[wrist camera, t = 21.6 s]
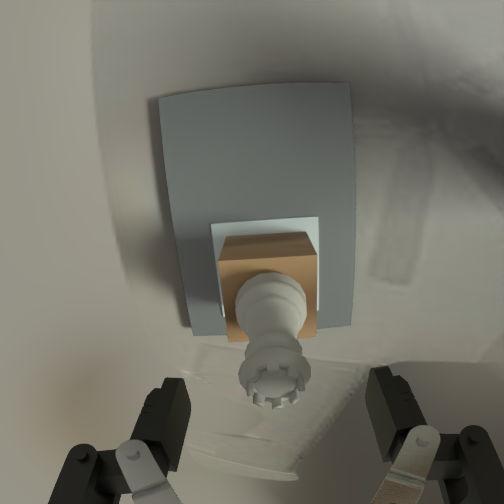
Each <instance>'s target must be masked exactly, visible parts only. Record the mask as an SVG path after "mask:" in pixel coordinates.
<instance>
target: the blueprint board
mask: <svg viewBox="0 0 504 504" xmlns="http://www.w3.org/2000/svg"><path fill="white" fill-rule="evenodd" d="M158 103H159V114H160V125H161V135H162V145H163V154H164V163H165V171H166V179H167V187H168V194H169V202H170V209H171V216H172V222H173V229H174V235H175V241H176V247H177V253H178V259H179V265H180V271H181V276H182V282H183V287H184V292H185V298H186V303H187V308H188V313H189V318H190V322H191V327H192V332H193V336H208V335H227V328H226V320H225V313H224V305H223V298H222V290H221V282H220V274H219V266H218V259H219V256H220V253H221V250H222V247H223V244H224V241H225V239H226V236H241V235H257V234H273V233H290V232H307V234H308V236H309V238H310V241H311V243H312V245H313V247H314V249H315V251H316V253H317V320H316V329H321V328H331V327H341V326H350V325H351V319H352V306H353V290H354V271H355V241H356V183H355V153H354V134H353V119H352V106H351V95H350V85H349V83H333V82H307V83H277V84H261V85H248V86H237V87H227V88H219V89H211V90H203V91H196V92H190V93H183V94H177V95H172V96H166V97H161V98H158Z"/></svg>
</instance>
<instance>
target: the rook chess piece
mask: <svg viewBox="0 0 504 504" xmlns="http://www.w3.org/2000/svg"><path fill="white" fill-rule="evenodd" d="M235 305H236V308H235V311H236V317H237V322H238V324H239V326H240V327H241V329H242V330H243V332H244V333H245V334H246V335H247V336H248V337H249V342H250V343H249V344H248V345H247V348H246V351H245V358H246V360H245V361H244V362H242V364H241V367H240V370H239V372H238V375H239V380H240V384H241V385H242V386H243V387H244V388H245V390H246V392H247V396H252V395H253V403H254V404H256V405H258V406H260V407H262V406H263V405H264V404H265V401H268V402H272V409H281V408H283V401H285V400H287V399H289V402H290V403H292V404H295V403H296V402H297V401H298V400H300V399H301V397H300V391H305V387H306V385H307V383H308V381H309V379H310V377H311V367H310V365H309V363H308V362H307V360H306V358H305V357H303V356H302V347H301V345H300V344H299V342H298V341H297V334H298V332H299V330H301V329H302V326H303V324H304V321H305V319H306V316H307V303H306V295H305V293H304V291H303V289H302V287H301V286H300V284H299V283H298V282H296V281H295V280H294V279H292V278H291V277H290V276H287V275H283V274H279V273H276V272H273V273H263V274H259V275H257V276H255V277H253V278H251V279H249V280H247V281H246V282H245V284H244V285H243V286H242V287H241V288H240V289H239V291H238V294H237V297H236V301H235Z"/></svg>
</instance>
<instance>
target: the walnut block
mask: <svg viewBox="0 0 504 504" xmlns="http://www.w3.org/2000/svg"><path fill="white" fill-rule="evenodd" d="M218 266H219V274H220V282H221V290H222V298H223V305H224V313H225V320H226V328H227V335H228V342H243V341H249V337H248V336H247V335H246V334H245V333H244V332H243V330H242V329H241V327H240V326H239V324H238V322H237V317H236V311H235V308H236V305H235V301H236V297H237V294H238V291H239V289H240V288H241V287H242V286H243V285H244V284H245V282H246V281H247V280H249V279H251V278H253V277H255V276H257V275H259V274H263V273H273V272H276V273H279V274H283V275H287V276H290V277H291V278H292V279H294V280H295V281H296V282H298V283H299V284H300V286H301V287H302V289H303V291H304V293H305V295H306V303H307V316H306V319H305V321H304V324H303V326H302V329H301V330H299V332H298V334H297V338H309V337H316V320H317V253H316V251H315V249H314V247H313V245H312V243H311V241H310V238H309V236H308V234H307V232H290V233H273V234H257V235H241V236H226V239H225V241H224V244H223V247H222V250H221V253H220V256H219V259H218Z"/></svg>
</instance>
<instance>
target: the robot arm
mask: <svg viewBox="0 0 504 504" xmlns="http://www.w3.org/2000/svg"><path fill="white" fill-rule="evenodd" d="M365 400H366V406H367V409H368V412H369V416H370V419H371V422H372V425H373V429H374V432H375V436H376V439H377V442H378V446H379V449H380V453H381V456H382V460H383V462H388V461H391V462H392V465H393V466H392V468H391V470H390V471H389V473H388V475H387V476H386V478H385V480H384V482H383V483H382V485H381V487H380V489H379V490H378V492H377V494H376V496H375V497H374V499H373V500H372V502H371V504H416V503H417V502H418V499H419V497H420V495H421V493H422V491H423V489H424V486H425V480H438V482H439V486H440V489H441V493H442V497H443V501H444V504H504V469H503V467H502V464H501V462H500V460H499V458H498V455H497V453H496V451H495V448H494V446H493V444H492V442H491V439H490V437H489V435H488V433H487V432H486V430H485V429H484V428H482V427H480V426H476V425H471V426H467V427H465V428H464V429H463V430H462V431H461V432H460V434H440V433H438V431H437V430H436V429H435V428H433V427H431V426H428V425H427V423H426V421H425V419H424V416H423V414H422V412H421V410H420V408H419V405H418V404H417V401H416V399H415V397H414V395H413V393H412V391H411V388H410V386H409V384H408V382H407V381H405V380H404V379H403V378H402V377H401V376H400V375H398V376H393V375H392V373H391V371H390V369H389V367H388V366H382V367H376V368H371V369H370V372H369V378H368V383H367V388H366V393H365ZM190 414H191V402H190V399H189V395H188V392H187V389H186V385H185V382H184V379H183V378H165V379H164V382H163V384H162V387H161V389H160V388H155V389H153V390H152V391H151V392H150V394H148V396H147V398H146V400H145V403H144V406H143V407H142V410H141V414H140V415H139V417H138V420H137V422H136V425H135V427H134V430H133V433H132V435H131V438H130V440H128V441H125V442H123V443H121V444H120V445H119V446H118V448H117V449H115V450H106V451H96V449H95V448H94V447H93V446H91V445H89V444H79V445H77V446H74V447H73V448H72V449H71V450H70V451H69V453H68V455H67V458H66V460H65V462H64V465H63V467H62V470H61V472H60V474H59V477H58V479H57V482H56V484H55V487H54V489H53V492H52V495H51V497H50V500H49V502H48V504H119V501H120V497H121V494H128V493H132V494H133V495H132V499H133V501H134V503H135V504H182V502H181V501H180V499H179V498H178V497H177V495H176V493H175V492H174V490H173V488H172V487H171V485H170V484H169V482H168V480H167V479H166V478H167V474H168V471H173V472H176V471H177V468H178V464H179V459H180V455H181V451H182V446H183V443H184V439H185V435H186V431H187V427H188V422H189V418H190Z"/></svg>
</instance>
